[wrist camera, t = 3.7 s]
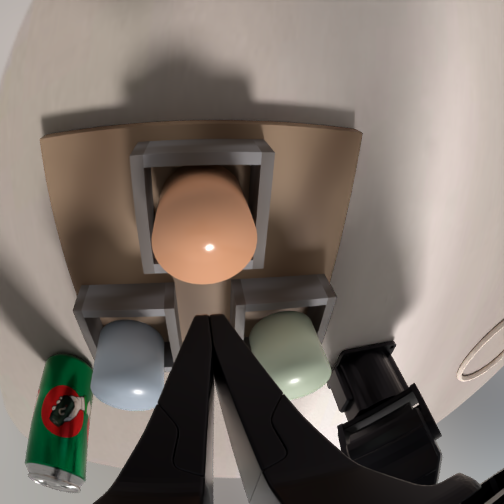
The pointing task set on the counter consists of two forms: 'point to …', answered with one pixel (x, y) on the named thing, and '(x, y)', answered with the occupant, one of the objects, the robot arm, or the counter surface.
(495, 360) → the hand towel holder
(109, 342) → the slate-blue button
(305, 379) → the sage button
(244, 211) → the terracotta button
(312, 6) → the counter surface
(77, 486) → the soda can
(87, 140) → the walnut button board
